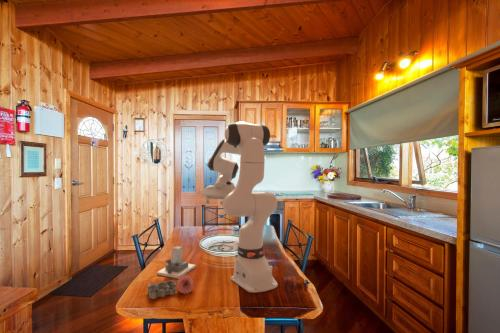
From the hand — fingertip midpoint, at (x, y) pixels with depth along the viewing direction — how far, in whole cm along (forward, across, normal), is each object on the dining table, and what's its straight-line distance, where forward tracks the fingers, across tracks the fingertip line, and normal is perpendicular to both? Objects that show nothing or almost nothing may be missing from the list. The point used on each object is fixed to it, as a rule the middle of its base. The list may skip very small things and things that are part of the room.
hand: (214, 204), depth 152 cm
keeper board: (+40, -5, 0) cm, 41 cm away
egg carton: (+55, +3, -14) cm, 57 cm away
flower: (+52, +11, -11) cm, 54 cm away
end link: (+40, -5, -1) cm, 40 cm away
